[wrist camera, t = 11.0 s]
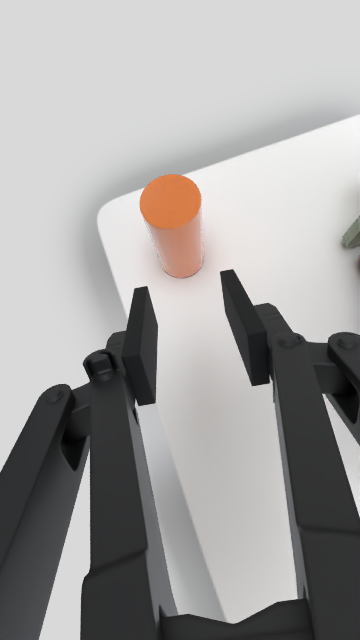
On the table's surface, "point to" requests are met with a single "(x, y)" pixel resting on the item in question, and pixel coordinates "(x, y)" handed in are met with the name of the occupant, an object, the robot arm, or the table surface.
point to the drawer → (353, 235)
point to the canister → (175, 223)
